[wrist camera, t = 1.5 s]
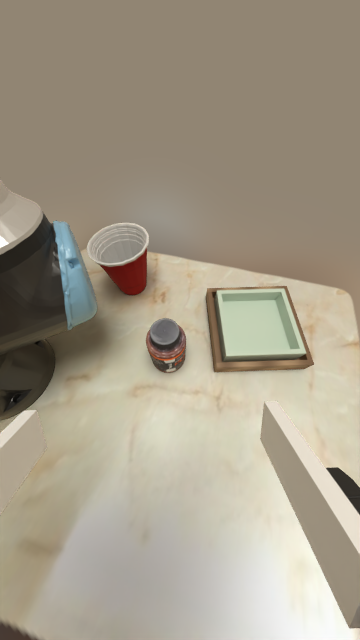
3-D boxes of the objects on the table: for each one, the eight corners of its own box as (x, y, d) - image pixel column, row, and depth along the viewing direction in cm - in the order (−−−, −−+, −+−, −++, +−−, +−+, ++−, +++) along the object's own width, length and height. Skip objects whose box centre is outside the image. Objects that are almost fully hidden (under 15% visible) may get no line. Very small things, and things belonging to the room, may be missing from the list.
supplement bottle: (180, 377, 35) (180, 357, 25) (148, 369, 36) (135, 346, 26) (188, 345, 38) (190, 316, 28) (158, 338, 38) (149, 308, 28)
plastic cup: (128, 259, 48) (112, 212, 37) (166, 277, 45) (161, 232, 35) (97, 291, 44) (70, 248, 33) (137, 313, 41) (122, 274, 30)
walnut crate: (214, 372, 35) (216, 367, 33) (205, 296, 43) (207, 288, 40) (304, 368, 35) (314, 364, 33) (280, 294, 43) (286, 286, 40)
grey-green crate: (222, 362, 35) (226, 355, 32) (214, 300, 41) (216, 290, 38) (295, 359, 35) (306, 353, 32) (276, 298, 42) (284, 288, 38)
